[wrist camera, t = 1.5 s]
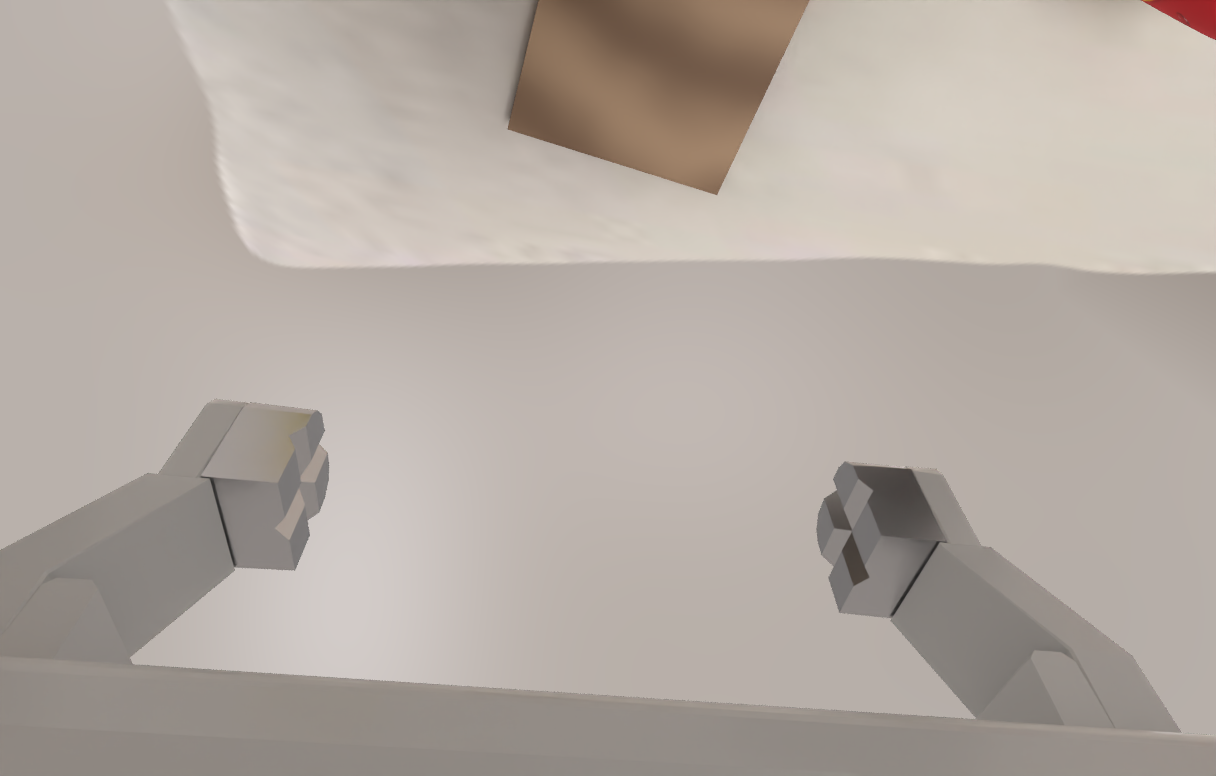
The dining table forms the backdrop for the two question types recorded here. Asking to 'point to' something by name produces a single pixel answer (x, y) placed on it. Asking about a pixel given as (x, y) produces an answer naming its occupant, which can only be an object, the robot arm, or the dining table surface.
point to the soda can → (1190, 13)
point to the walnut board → (652, 80)
